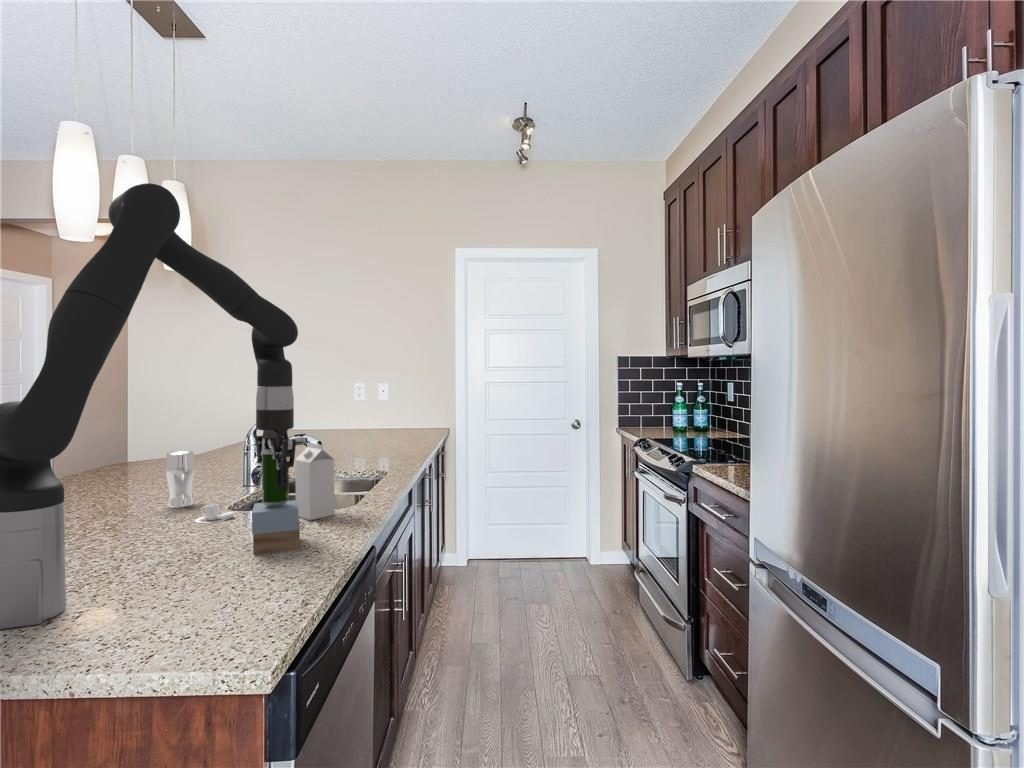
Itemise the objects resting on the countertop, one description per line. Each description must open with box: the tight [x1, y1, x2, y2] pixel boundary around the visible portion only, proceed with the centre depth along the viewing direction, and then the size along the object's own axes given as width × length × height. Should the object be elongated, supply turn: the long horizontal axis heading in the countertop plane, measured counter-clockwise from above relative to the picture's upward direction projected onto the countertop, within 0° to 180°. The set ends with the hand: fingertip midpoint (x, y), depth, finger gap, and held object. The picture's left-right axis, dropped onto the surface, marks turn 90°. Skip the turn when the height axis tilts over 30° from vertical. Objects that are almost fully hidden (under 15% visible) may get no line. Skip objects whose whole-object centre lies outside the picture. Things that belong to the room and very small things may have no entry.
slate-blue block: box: [251, 499, 300, 535], centre depth 122 cm, size 9×9×4 cm
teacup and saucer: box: [194, 503, 235, 524], centre depth 144 cm, size 9×8×4 cm
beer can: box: [261, 448, 290, 506], centre depth 122 cm, size 5×5×12 cm
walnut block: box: [252, 519, 301, 556], centre depth 122 cm, size 9×9×4 cm
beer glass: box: [165, 450, 195, 509], centre depth 159 cm, size 7×7×15 cm
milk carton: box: [295, 442, 335, 521], centre depth 147 cm, size 7×7×19 cm
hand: (275, 484), depth 122 cm, fingers closed on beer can, 5 cm apart
